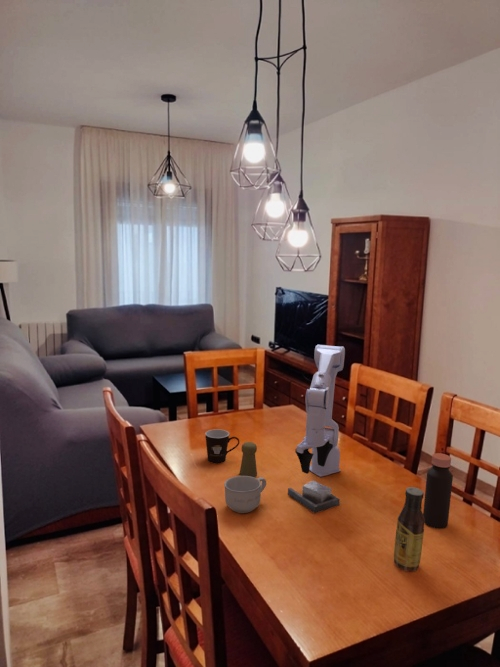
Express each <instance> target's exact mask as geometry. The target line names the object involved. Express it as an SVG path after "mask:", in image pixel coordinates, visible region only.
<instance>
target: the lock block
mask: <svg viewBox="0 0 500 667" xmlns="http://www.w3.org/2000/svg"><path fill="white" fill-rule="evenodd" d="M301 492H302V493H301V495H302V496H304V497H305V498H306V499H308V500H309V501H311V502H312V503H314V504H315V505H316V504H319V503H322V502H325V501H328V500H331V494H332V487H330V486H326V485H324V484H322V483H320V482H317V481H315V480H311V481H309V482H307V483H305V484H303V485H302V491H301Z"/></svg>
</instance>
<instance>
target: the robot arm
mask: <svg viewBox="0 0 500 667" xmlns="http://www.w3.org/2000/svg"><path fill="white" fill-rule="evenodd" d="M345 356H346V349H345V347H344V346H339V345H338V346H335V345H326V344H317V345H315V348H314V356H313V358H314V364H315V365H316V368H317V370H318V371H315V373H314V374H313V376H312V380H311V383H310V386H309V388H307V389H306V392H305V397H304V398H305V412H306V424H305V436H304V437H302V441H301V442H300V443H299V444H297V445H296V448H295V449H294V450H295V454H296V456H297V458H298V460H299V463H300V467H301V472H302V473H304V474H307V475H308V474H309V473H310V472H311V473H313V474H315V475H316V476H318V477H320V478H322V477H325V476H328V475H332V474H335V473H339V472H341V469H340V460H341V459H340V457H341V452H340V448H339V447H338V444H339V436H340V434H339V433H340V432H339V430H340V429H339V428H340V427H339V424H338V423H337V422H336V421H335V420H333V418H332V416H333V407H334V395H335V386H336V385H335V384H336V377H337V374H338V372H341V371H343V369H344V367H345V366H344V365H345ZM310 449H311V452H310Z"/></svg>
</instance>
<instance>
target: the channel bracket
mask: <svg viewBox="0 0 500 667" xmlns="http://www.w3.org/2000/svg"><path fill="white" fill-rule="evenodd" d="M287 495H288V496H289V497H291V498H292V499H293V500H295V501H297V502H298V503H299V504H301V505H302V506H304V507H305V508H306V509H308V510H309V511H310V512H312V513H313V514H318V513H320V512H324V511H326V510H328V509H332V508H335V507H337V506H340V500H341V499H340V498H338V497H337V496H336V495H334V494H332V493H331V500H328V501H325V502H322V503H319V504H316V505H315V504H314V503H312V502H311V501H309V500H308V499H306V498H305V497H304V496H302V493H299V492H297V491H296V490H295V489H293V488H292V487H288V488H287Z"/></svg>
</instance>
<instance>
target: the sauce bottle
mask: <svg viewBox="0 0 500 667" xmlns="http://www.w3.org/2000/svg"><path fill="white" fill-rule="evenodd" d="M404 494H405V501H404V505H403V508H402V509H401V511H400V513H399V515H398V517H397V521H396V532H395V538H394V549H393V563H394V565H395V566H396V567H397V568H398V569H400V571H404V572H409V573H410V572H415V571H418V570H419V568H420V563H421V559H422V558H421V556H422V549H423V542H424V533H425V519H424V515H423V510H422V504H423V503H422V502H423V499H424V496H425V492H424V491H423V490H422V489H421V488H420V487H419V488H417V487H416V486H415V487H414V486H413V487H412V486H408V487H406V489H405V493H404Z"/></svg>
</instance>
